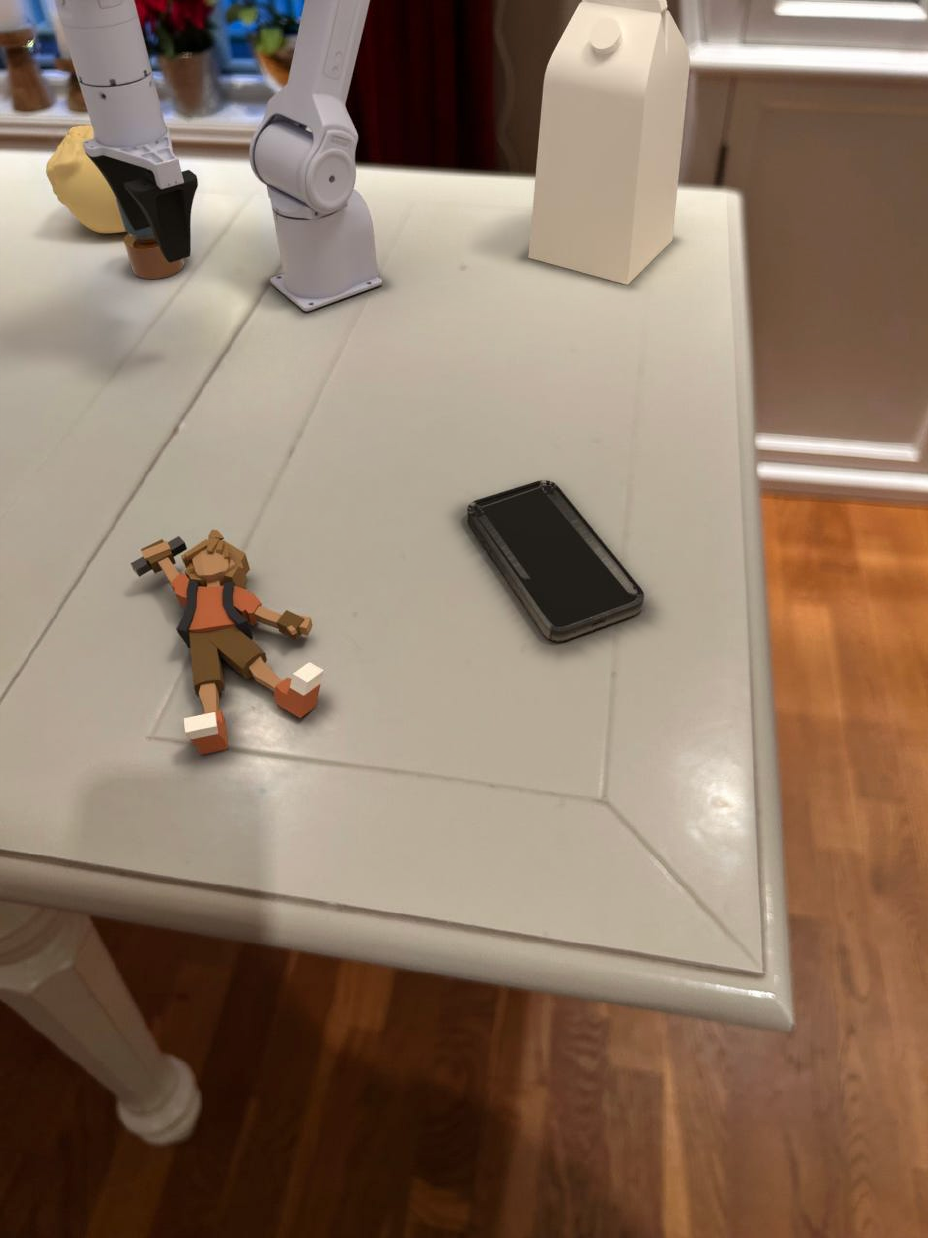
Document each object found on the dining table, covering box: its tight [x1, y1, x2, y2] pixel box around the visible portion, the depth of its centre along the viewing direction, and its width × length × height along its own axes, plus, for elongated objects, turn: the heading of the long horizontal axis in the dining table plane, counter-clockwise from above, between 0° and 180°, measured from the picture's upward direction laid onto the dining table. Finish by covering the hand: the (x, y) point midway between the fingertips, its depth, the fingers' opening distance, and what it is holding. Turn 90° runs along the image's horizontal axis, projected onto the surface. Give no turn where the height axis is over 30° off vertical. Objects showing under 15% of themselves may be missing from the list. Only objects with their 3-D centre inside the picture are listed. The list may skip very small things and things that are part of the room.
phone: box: [466, 479, 645, 643], centre depth 68 cm, size 8×1×15 cm
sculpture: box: [45, 124, 126, 234], centre depth 105 cm, size 11×12×11 cm
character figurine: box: [130, 529, 324, 756], centre depth 63 cm, size 12×5×18 cm
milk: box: [527, 0, 691, 286], centre depth 92 cm, size 12×12×26 cm
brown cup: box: [123, 233, 185, 280], centre depth 99 cm, size 6×6×5 cm
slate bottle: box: [116, 198, 153, 236], centre depth 96 cm, size 4×4×4 cm
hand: (161, 241), depth 82 cm, fingers open, 7 cm apart
